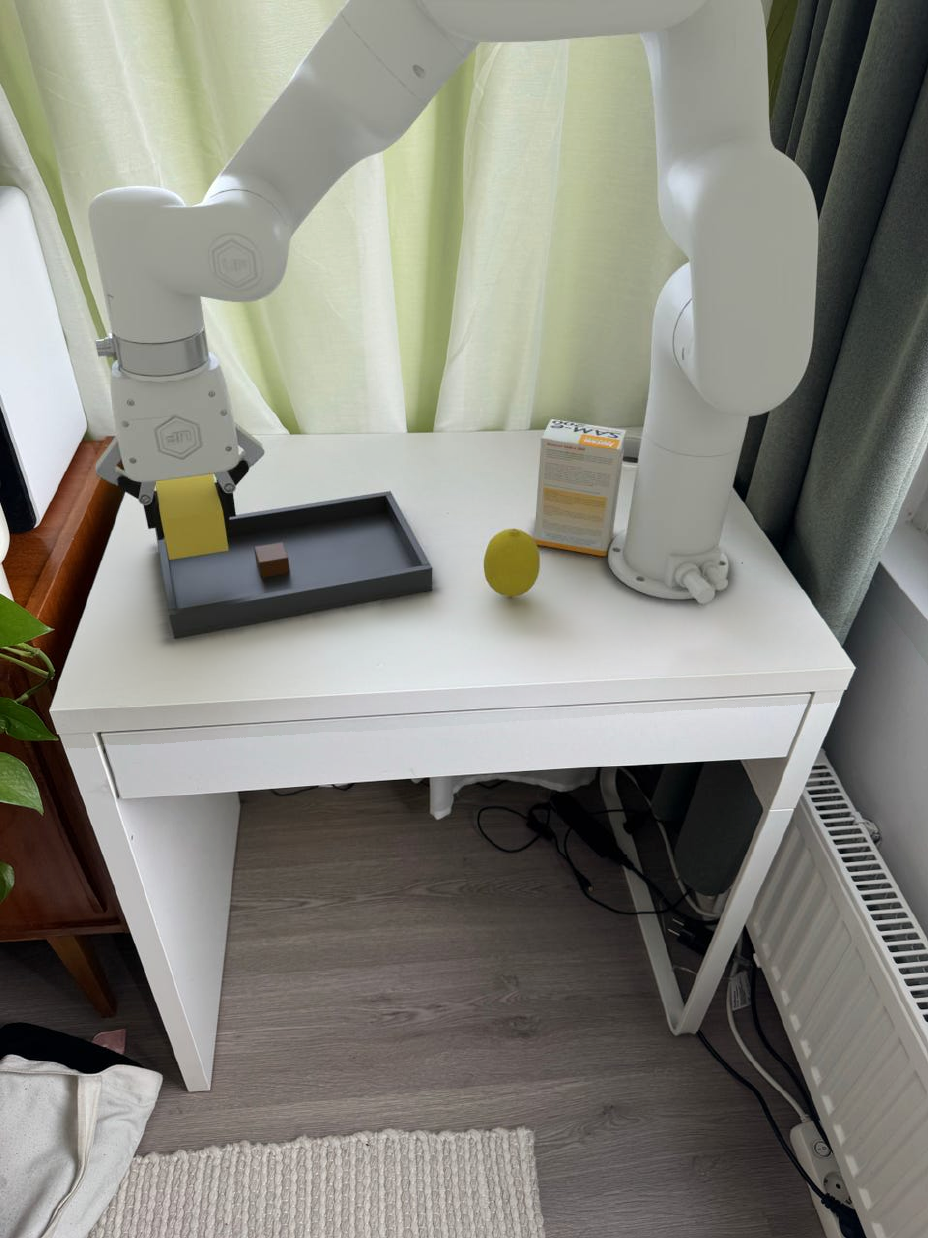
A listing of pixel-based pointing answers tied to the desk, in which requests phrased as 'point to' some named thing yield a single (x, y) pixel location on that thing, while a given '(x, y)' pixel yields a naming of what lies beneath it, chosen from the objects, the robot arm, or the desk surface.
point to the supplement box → (578, 486)
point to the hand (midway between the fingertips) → (193, 525)
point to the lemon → (511, 562)
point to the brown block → (272, 560)
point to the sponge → (191, 516)
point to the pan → (297, 565)
